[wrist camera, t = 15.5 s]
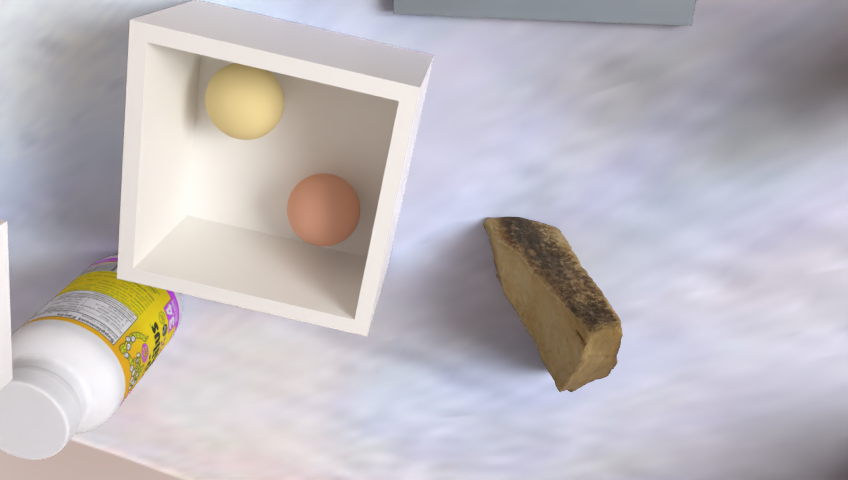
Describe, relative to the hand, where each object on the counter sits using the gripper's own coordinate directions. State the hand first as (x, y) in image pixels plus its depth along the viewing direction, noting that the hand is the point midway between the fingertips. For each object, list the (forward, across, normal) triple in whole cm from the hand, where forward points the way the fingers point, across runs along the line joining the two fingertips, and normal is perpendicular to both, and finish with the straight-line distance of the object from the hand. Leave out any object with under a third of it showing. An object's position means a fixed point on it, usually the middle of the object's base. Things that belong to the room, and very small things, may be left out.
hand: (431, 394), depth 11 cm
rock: (+32, -6, +13) cm, 35 cm away
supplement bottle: (+32, +19, +19) cm, 41 cm away
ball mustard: (+28, +12, +4) cm, 31 cm away
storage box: (+31, +10, +7) cm, 33 cm away
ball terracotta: (+29, +7, +9) cm, 31 cm away
